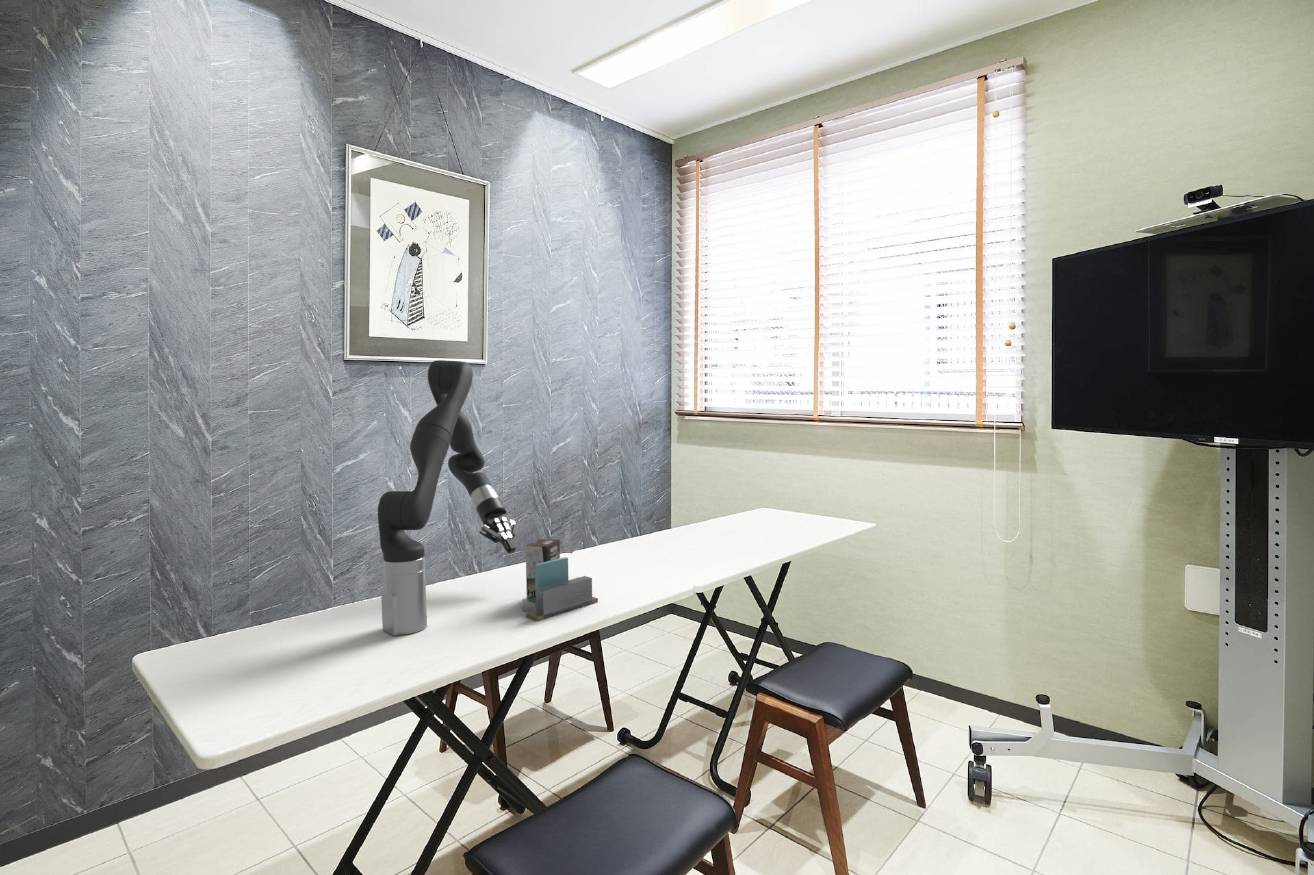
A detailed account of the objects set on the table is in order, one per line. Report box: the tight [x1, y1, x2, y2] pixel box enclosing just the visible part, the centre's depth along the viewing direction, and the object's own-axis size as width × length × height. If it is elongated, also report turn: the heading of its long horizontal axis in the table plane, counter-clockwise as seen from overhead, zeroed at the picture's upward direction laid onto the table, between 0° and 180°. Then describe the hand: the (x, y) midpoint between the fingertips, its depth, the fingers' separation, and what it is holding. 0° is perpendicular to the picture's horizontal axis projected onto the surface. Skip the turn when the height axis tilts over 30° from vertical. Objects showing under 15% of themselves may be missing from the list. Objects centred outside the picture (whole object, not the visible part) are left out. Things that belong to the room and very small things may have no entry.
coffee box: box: [525, 538, 561, 599], centre depth 176 cm, size 9×6×16 cm
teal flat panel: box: [528, 556, 570, 600], centre depth 171 cm, size 13×1×10 cm, turn 137°
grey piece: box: [521, 575, 599, 622], centre depth 171 cm, size 20×10×7 cm, turn 137°
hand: (512, 551), depth 184 cm, fingers closed
